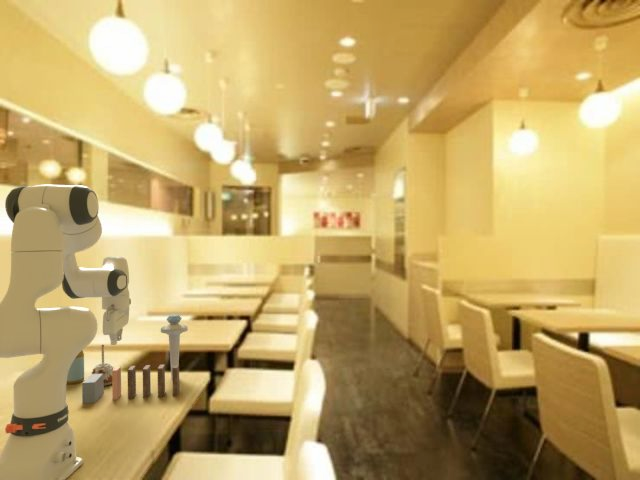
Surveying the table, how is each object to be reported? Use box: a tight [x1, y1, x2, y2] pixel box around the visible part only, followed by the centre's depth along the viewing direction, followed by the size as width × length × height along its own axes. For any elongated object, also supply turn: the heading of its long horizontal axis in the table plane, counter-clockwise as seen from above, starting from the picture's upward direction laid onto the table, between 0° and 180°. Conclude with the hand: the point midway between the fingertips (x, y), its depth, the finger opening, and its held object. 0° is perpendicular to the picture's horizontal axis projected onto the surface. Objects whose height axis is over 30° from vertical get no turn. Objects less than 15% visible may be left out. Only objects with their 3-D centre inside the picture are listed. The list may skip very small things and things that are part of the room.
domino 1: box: [111, 366, 122, 400], centre depth 168 cm, size 2×5×10 cm, turn 9°
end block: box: [81, 373, 105, 404], centre depth 166 cm, size 10×4×7 cm, turn 9°
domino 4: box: [157, 364, 166, 398], centre depth 170 cm, size 2×5×10 cm, turn 9°
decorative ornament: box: [91, 344, 114, 386], centre depth 182 cm, size 8×8×15 cm
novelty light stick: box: [160, 314, 188, 380], centre depth 188 cm, size 10×10×25 cm
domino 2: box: [126, 365, 137, 400], centre depth 168 cm, size 2×5×10 cm, turn 9°
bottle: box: [66, 349, 85, 385], centre depth 185 cm, size 7×7×15 cm
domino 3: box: [142, 364, 152, 399], centre depth 169 cm, size 2×5×10 cm, turn 9°
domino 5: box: [172, 363, 180, 397], centre depth 171 cm, size 2×5×10 cm, turn 9°
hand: (116, 342), depth 167 cm, fingers open, 5 cm apart
